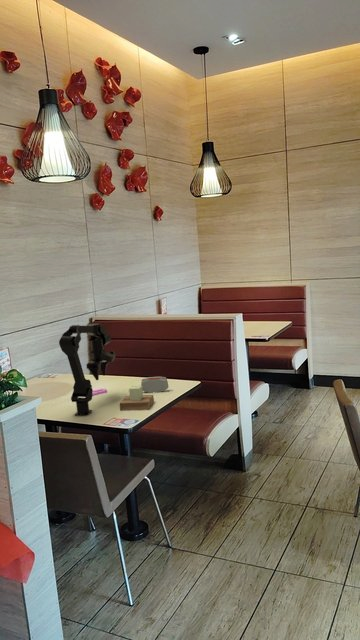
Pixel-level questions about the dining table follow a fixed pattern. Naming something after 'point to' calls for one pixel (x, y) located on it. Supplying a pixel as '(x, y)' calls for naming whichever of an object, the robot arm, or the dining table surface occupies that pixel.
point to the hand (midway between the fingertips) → (100, 377)
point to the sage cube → (136, 393)
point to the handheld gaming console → (154, 384)
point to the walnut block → (137, 403)
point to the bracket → (99, 392)
